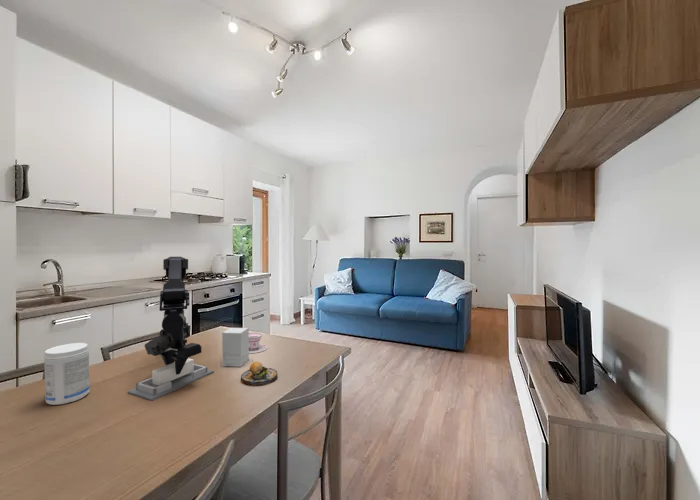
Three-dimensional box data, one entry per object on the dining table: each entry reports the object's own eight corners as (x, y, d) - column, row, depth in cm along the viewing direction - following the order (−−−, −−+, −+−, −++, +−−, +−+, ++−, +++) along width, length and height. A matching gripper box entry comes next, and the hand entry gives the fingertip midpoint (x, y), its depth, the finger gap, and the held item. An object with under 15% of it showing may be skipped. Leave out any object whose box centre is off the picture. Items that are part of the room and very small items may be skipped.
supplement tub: (93, 387, 97) (93, 340, 97) (83, 401, 88) (83, 350, 88) (52, 394, 93) (52, 344, 92) (37, 409, 84) (37, 355, 84)
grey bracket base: (127, 393, 94) (127, 385, 94) (191, 367, 114) (191, 360, 114) (151, 400, 89) (151, 392, 89) (213, 372, 109) (213, 365, 109)
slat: (152, 383, 97) (152, 370, 97) (186, 369, 108) (186, 357, 108) (159, 385, 95) (159, 372, 95) (193, 371, 106) (193, 359, 106)
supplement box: (249, 360, 122) (249, 327, 121) (240, 367, 114) (241, 333, 114) (231, 359, 122) (231, 327, 122) (221, 366, 115) (221, 332, 115)
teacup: (259, 343, 143) (259, 329, 143) (272, 349, 134) (272, 335, 134) (233, 348, 135) (233, 334, 135) (245, 356, 126) (245, 341, 126)
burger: (281, 382, 103) (282, 359, 103) (245, 390, 97) (245, 366, 97) (271, 369, 113) (271, 349, 113) (237, 376, 107) (237, 354, 107)
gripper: (129, 327, 98) (130, 377, 98) (170, 335, 90) (170, 389, 90) (163, 320, 108) (163, 365, 108) (202, 326, 100) (202, 374, 100)
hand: (174, 373), depth 101 cm, fingers closed on slat, 3 cm apart
